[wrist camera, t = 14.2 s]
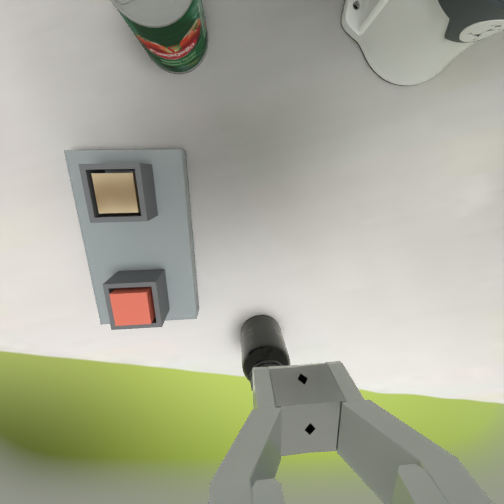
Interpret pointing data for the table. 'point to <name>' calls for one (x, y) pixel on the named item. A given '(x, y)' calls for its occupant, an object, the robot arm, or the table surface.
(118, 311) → the red button
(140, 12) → the canned tomato
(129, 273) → the button panel
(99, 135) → the table surface
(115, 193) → the tan button
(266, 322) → the supplement bottle
